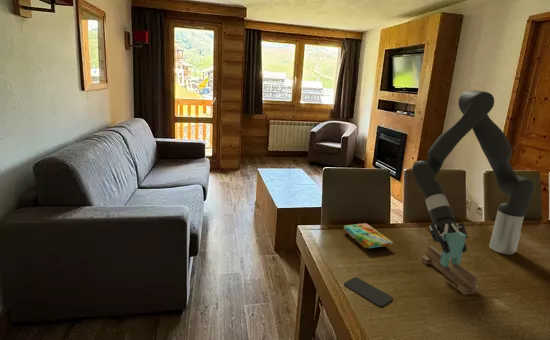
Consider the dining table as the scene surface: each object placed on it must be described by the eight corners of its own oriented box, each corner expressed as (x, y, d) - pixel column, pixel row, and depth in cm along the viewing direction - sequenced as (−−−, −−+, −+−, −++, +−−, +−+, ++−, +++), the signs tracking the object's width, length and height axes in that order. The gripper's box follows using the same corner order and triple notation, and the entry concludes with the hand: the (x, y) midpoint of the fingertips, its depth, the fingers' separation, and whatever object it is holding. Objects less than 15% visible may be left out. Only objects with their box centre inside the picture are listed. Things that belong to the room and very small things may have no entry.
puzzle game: (365, 221, 154) (393, 240, 136) (364, 230, 155) (392, 250, 137) (344, 223, 150) (369, 243, 132) (343, 233, 151) (368, 254, 133)
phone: (355, 276, 116) (394, 297, 105) (355, 278, 116) (394, 300, 105) (342, 283, 111) (381, 306, 100) (342, 285, 111) (381, 309, 100)
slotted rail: (433, 259, 131) (436, 245, 129) (478, 292, 110) (482, 277, 109) (420, 260, 130) (423, 246, 128) (463, 294, 109) (467, 278, 107)
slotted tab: (454, 262, 121) (461, 232, 118) (459, 265, 118) (466, 235, 115) (439, 263, 119) (446, 233, 116) (444, 266, 117) (451, 236, 114)
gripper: (428, 205, 119) (446, 250, 111) (461, 204, 122) (480, 247, 114) (416, 213, 125) (432, 256, 117) (448, 211, 129) (465, 253, 121)
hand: (456, 252), depth 116 cm, fingers closed on slotted tab, 6 cm apart
